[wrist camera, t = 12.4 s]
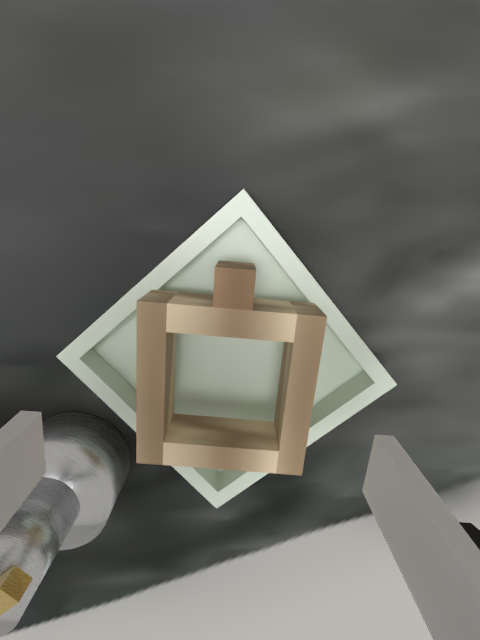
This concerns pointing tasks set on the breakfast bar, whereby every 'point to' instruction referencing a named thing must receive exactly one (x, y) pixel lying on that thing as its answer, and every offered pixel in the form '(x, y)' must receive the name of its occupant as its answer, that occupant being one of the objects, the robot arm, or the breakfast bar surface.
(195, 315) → the tan wooden square frame
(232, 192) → the breakfast bar surface
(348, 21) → the breakfast bar surface
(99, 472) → the grey piece
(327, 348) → the tray
